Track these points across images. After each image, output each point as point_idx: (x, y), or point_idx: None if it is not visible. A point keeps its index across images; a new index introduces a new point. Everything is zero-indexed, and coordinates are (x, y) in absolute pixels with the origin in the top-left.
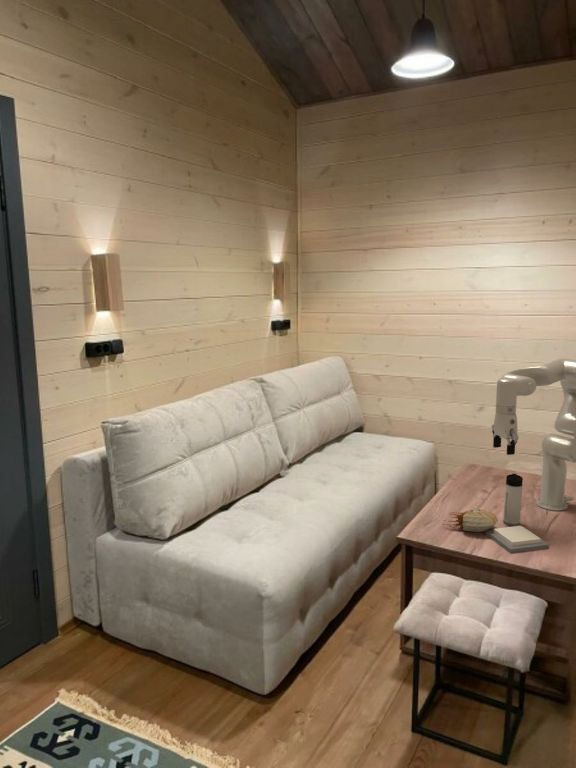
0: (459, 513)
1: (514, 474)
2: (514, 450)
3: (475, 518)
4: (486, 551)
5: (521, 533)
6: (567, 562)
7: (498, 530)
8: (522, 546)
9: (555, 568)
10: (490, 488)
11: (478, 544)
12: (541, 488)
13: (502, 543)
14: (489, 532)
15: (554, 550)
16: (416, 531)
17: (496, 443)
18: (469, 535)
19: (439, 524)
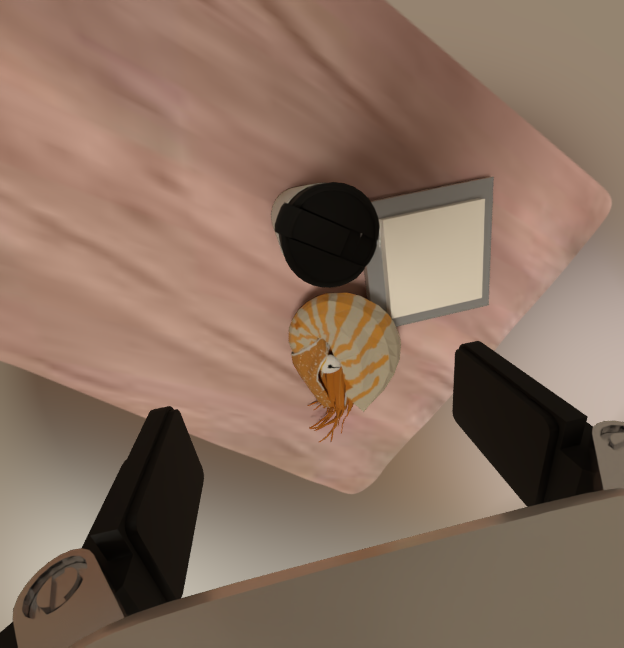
0: (345, 417)
1: (293, 222)
2: (507, 365)
3: (385, 381)
4: None
5: (437, 246)
6: (568, 166)
7: (404, 308)
8: (483, 266)
9: (580, 219)
10: None
11: (421, 361)
12: None
13: (452, 313)
14: None
15: (501, 165)
16: (334, 474)
17: (187, 500)
18: None
19: (297, 423)
